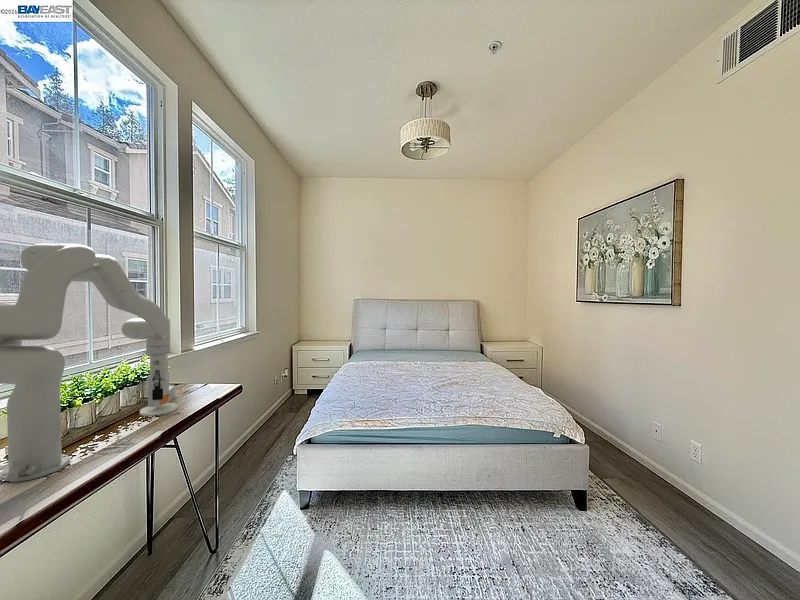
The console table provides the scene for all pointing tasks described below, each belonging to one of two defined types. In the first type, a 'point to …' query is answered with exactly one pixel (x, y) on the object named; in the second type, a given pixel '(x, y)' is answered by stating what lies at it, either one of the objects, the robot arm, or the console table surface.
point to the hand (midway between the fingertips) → (158, 396)
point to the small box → (171, 392)
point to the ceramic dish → (158, 409)
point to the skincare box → (165, 393)
